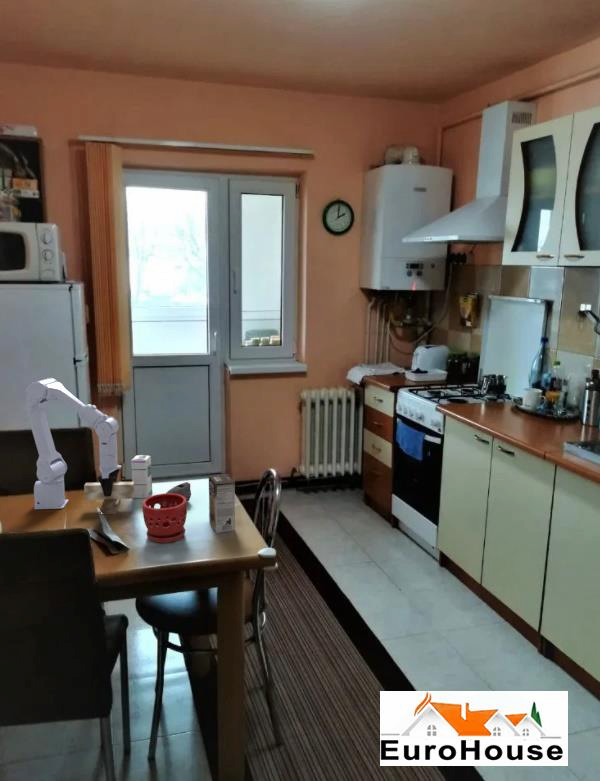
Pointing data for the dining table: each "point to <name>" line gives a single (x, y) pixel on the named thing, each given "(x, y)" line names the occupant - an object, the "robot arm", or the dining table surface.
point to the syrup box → (142, 476)
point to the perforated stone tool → (181, 491)
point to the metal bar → (118, 491)
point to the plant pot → (165, 517)
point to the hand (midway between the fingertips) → (110, 492)
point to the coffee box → (221, 503)
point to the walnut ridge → (110, 506)
